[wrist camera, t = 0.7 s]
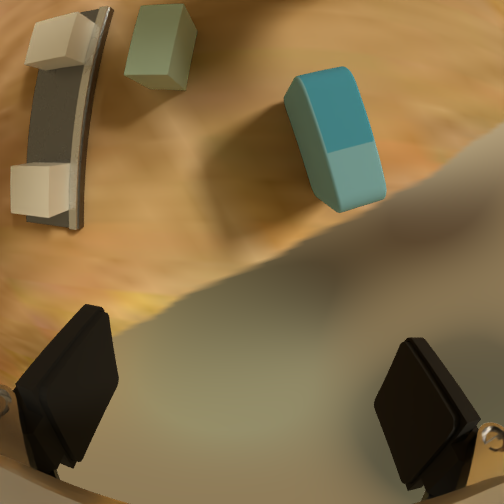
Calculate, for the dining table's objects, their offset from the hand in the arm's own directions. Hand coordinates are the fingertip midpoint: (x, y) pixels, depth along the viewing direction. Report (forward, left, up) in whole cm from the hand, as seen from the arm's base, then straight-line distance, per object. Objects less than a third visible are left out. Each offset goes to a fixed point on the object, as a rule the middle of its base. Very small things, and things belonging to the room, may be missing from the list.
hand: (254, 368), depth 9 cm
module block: (-17, -12, -28) cm, 35 cm away
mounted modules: (-10, -27, -27) cm, 39 cm away
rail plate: (-10, -27, -28) cm, 40 cm away
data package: (-9, +6, -28) cm, 30 cm away
